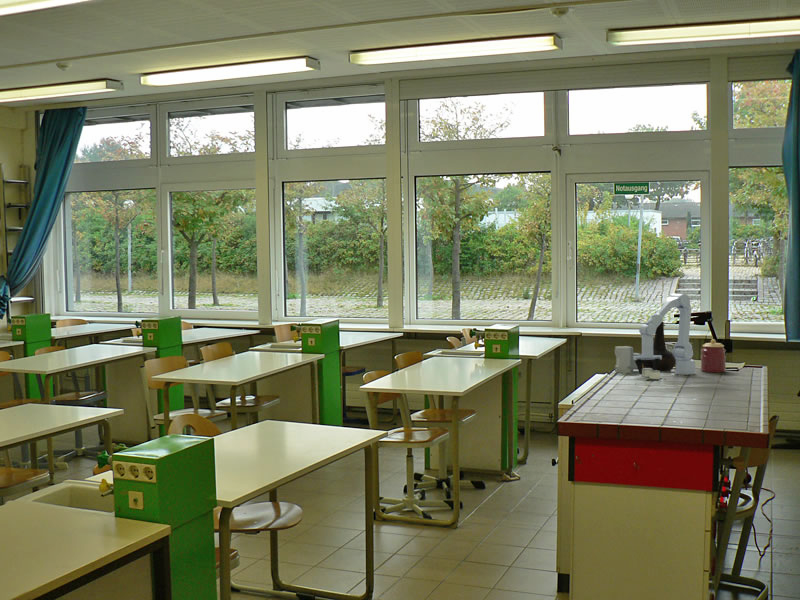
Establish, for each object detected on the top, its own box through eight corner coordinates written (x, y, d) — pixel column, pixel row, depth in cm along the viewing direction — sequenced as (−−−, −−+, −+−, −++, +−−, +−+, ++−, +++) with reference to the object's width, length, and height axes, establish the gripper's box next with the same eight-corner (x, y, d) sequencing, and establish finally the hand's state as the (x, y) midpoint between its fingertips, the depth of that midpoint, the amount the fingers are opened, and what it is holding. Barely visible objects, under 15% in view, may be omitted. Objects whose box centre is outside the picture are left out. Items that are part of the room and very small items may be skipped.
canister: (701, 372, 445) (701, 340, 444) (699, 369, 457) (700, 338, 457) (726, 373, 441) (727, 340, 440) (724, 369, 454) (724, 338, 453)
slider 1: (649, 375, 425) (649, 367, 425) (652, 376, 421) (652, 368, 421) (642, 375, 424) (642, 368, 424) (645, 376, 420) (645, 369, 420)
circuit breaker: (644, 375, 437) (644, 347, 437) (618, 375, 438) (618, 347, 437) (641, 373, 445) (640, 346, 444) (614, 373, 445) (614, 346, 445)
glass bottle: (635, 371, 453) (634, 321, 452) (659, 369, 461) (659, 319, 460) (657, 375, 437) (657, 323, 436) (682, 372, 445) (682, 321, 444)
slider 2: (657, 377, 416) (657, 370, 416) (660, 379, 412) (660, 371, 412) (649, 378, 415) (649, 370, 415) (652, 379, 411) (652, 371, 411)
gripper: (637, 348, 417) (637, 374, 418) (664, 347, 419) (664, 374, 419) (631, 347, 424) (631, 373, 425) (658, 346, 426) (658, 372, 426)
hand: (647, 373), depth 422 cm, fingers open, 7 cm apart
